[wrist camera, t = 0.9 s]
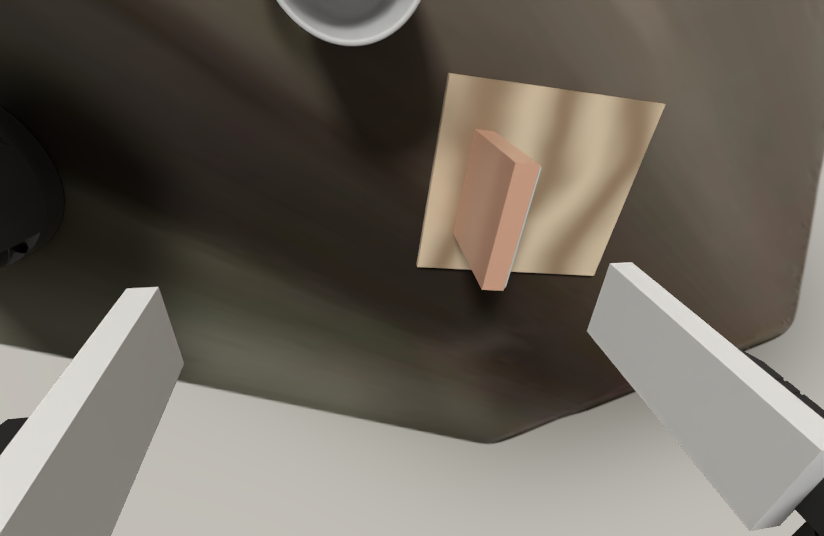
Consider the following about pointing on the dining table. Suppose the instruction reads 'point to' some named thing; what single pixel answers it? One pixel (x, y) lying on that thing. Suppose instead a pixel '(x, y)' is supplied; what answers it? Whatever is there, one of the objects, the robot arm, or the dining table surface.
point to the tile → (494, 207)
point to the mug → (350, 19)
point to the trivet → (560, 168)
